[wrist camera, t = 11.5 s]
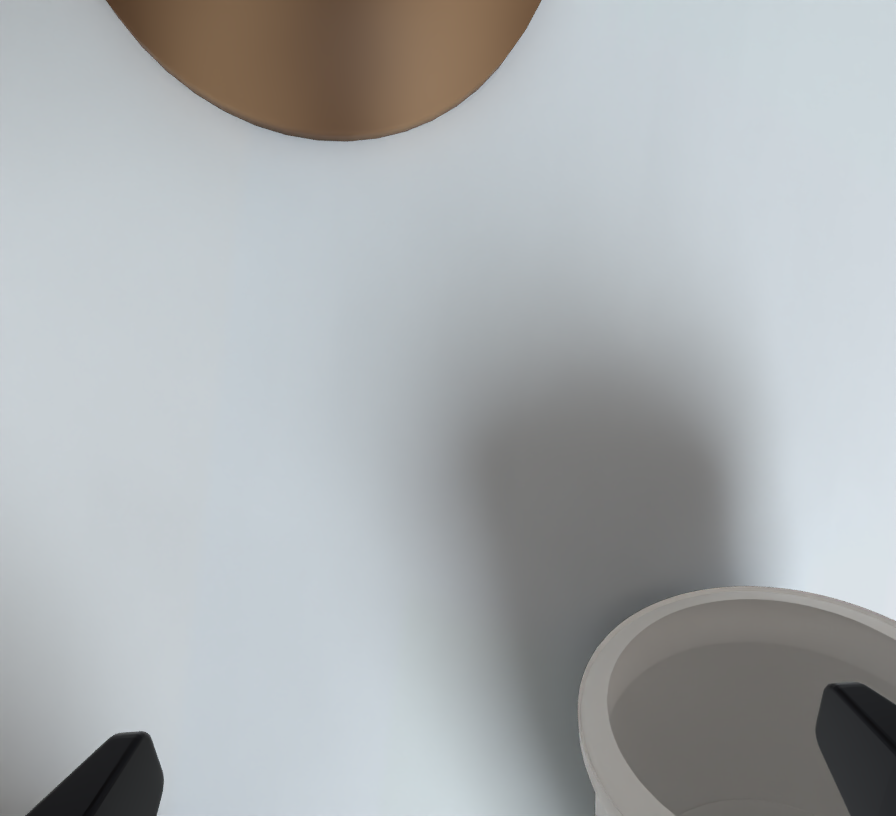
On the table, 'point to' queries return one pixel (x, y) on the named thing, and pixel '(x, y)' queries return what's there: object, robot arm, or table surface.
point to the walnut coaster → (330, 57)
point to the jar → (725, 702)
